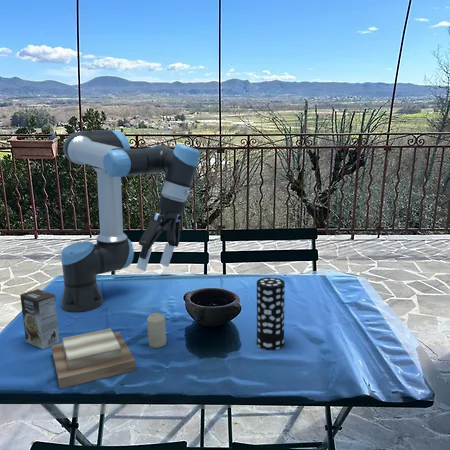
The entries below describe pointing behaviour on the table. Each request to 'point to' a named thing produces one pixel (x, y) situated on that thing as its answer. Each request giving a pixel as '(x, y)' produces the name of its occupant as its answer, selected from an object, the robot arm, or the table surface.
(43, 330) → the coffee box
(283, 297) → the white-spotted black cylinder
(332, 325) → the table surface
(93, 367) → the two-tier square platform
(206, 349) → the table surface
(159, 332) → the candle
